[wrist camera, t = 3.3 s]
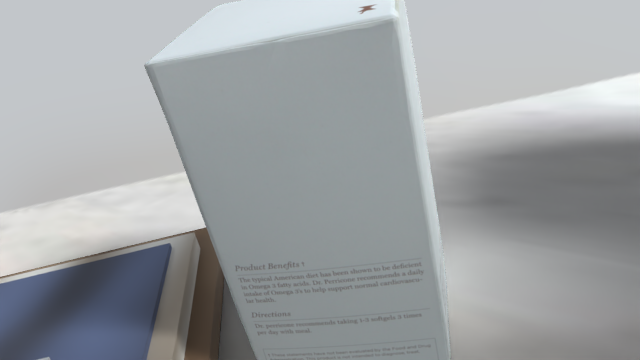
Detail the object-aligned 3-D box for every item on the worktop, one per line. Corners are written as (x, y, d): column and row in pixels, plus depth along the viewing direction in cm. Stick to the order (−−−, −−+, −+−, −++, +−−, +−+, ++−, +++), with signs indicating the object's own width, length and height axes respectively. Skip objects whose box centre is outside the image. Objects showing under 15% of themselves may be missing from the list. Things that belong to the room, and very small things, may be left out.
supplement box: (446, 249, 26) (407, -38, 21) (454, 374, 20) (401, 10, 14) (291, 261, 28) (216, 0, 22) (254, 381, 22) (135, 58, 16)
